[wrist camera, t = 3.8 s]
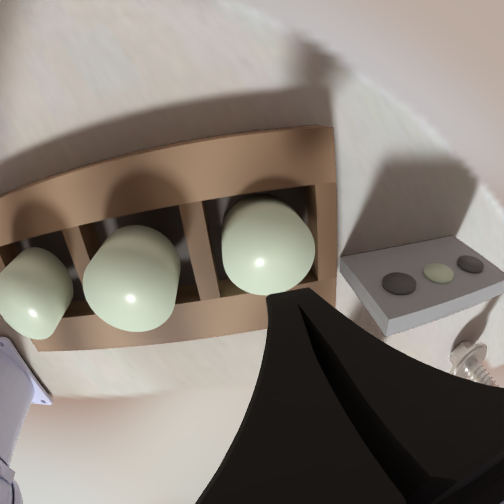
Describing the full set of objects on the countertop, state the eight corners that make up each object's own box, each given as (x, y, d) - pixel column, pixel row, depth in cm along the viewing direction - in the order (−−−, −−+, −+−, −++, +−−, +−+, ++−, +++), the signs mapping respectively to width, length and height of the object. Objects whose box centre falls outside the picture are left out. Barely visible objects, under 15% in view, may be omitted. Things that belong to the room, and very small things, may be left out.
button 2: (32, 313, 14) (15, 340, 12) (5, 253, 12) (-19, 276, 10) (84, 308, 14) (69, 337, 12) (57, 241, 12) (33, 265, 10)
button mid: (115, 304, 14) (103, 335, 12) (90, 233, 13) (69, 257, 10) (188, 294, 15) (185, 326, 12) (169, 217, 13) (161, 240, 11)
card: (339, 271, 18) (385, 336, 12) (340, 253, 17) (389, 316, 12) (450, 248, 18) (505, 292, 13) (453, 232, 18) (511, 274, 12)
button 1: (227, 274, 16) (230, 301, 14) (214, 201, 14) (215, 219, 12) (302, 262, 16) (315, 287, 14) (297, 189, 14) (313, 204, 12)
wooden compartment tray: (48, 332, 17) (38, 351, 15) (-8, 198, 13) (-27, 209, 11) (324, 295, 18) (334, 315, 16) (317, 125, 14) (332, 127, 12)
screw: (460, 365, 25) (433, 370, 24) (482, 330, 23) (457, 332, 22) (518, 448, 14) (494, 466, 13) (551, 413, 12) (532, 430, 11)
